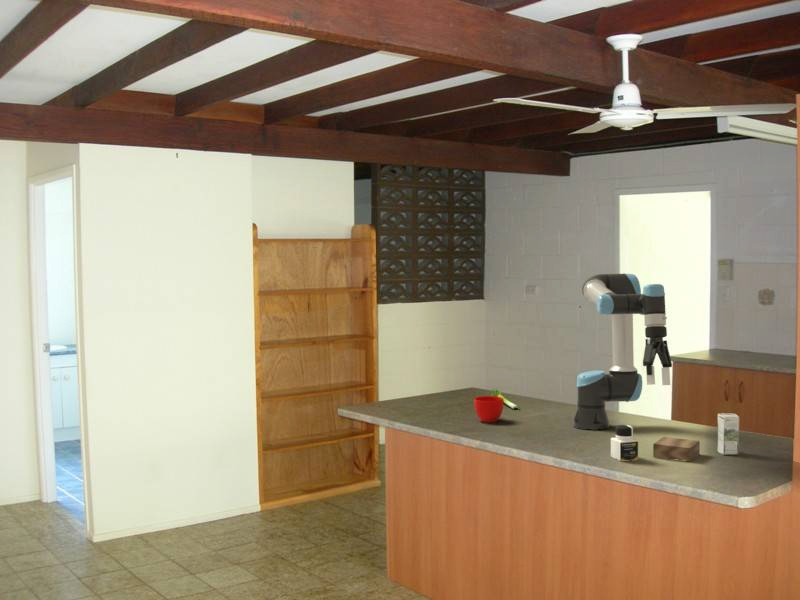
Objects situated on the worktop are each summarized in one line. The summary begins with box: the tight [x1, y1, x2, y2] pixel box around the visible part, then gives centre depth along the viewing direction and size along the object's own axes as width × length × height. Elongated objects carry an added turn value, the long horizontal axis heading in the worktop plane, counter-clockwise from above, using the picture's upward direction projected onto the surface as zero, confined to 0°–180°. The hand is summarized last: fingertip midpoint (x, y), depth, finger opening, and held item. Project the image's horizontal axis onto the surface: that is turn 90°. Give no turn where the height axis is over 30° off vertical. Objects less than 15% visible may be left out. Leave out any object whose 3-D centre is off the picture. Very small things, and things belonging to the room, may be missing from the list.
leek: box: [490, 388, 521, 410], centre depth 416 cm, size 6×7×30 cm
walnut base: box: [652, 436, 701, 462], centre depth 309 cm, size 13×13×5 cm
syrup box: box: [716, 412, 740, 456], centre depth 312 cm, size 6×6×14 cm
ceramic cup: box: [473, 395, 505, 423], centre depth 378 cm, size 13×17×10 cm
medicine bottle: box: [610, 424, 639, 462], centre depth 307 cm, size 7×7×12 cm
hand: (658, 384), depth 308 cm, fingers open, 13 cm apart
